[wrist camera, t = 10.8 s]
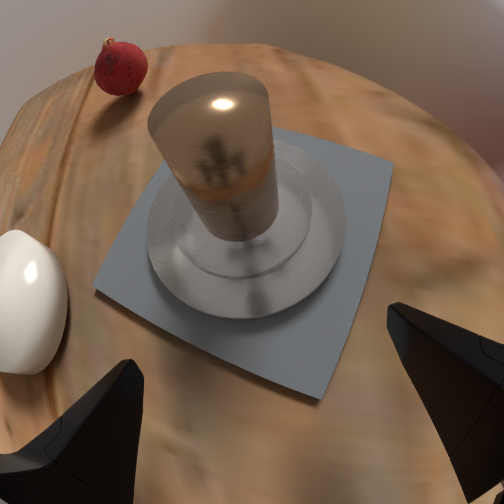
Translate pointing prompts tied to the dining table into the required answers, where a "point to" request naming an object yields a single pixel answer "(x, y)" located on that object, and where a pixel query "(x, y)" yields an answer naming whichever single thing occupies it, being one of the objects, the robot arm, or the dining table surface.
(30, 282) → the white rounded piece
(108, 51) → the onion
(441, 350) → the robot arm
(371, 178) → the mat
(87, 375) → the dining table surface
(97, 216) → the dining table surface
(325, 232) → the cylinder on round base
